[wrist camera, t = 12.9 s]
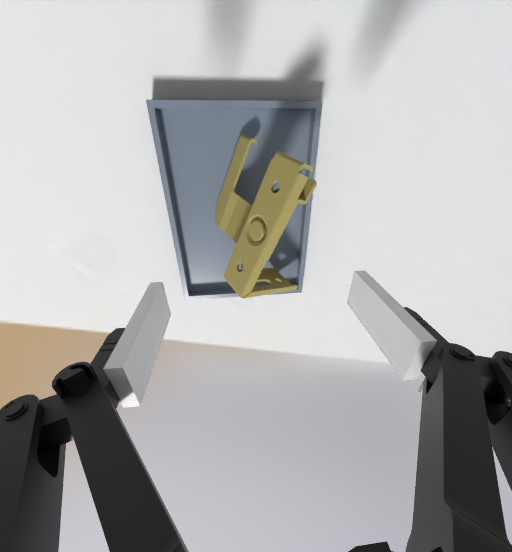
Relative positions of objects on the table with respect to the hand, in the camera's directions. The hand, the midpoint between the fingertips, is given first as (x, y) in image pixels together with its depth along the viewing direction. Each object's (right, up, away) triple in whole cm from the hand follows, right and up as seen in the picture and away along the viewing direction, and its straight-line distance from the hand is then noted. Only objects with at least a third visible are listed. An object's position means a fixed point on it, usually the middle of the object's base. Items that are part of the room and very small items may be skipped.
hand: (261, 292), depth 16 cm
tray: (-2, +9, +14) cm, 17 cm away
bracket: (+2, +8, +12) cm, 15 cm away
